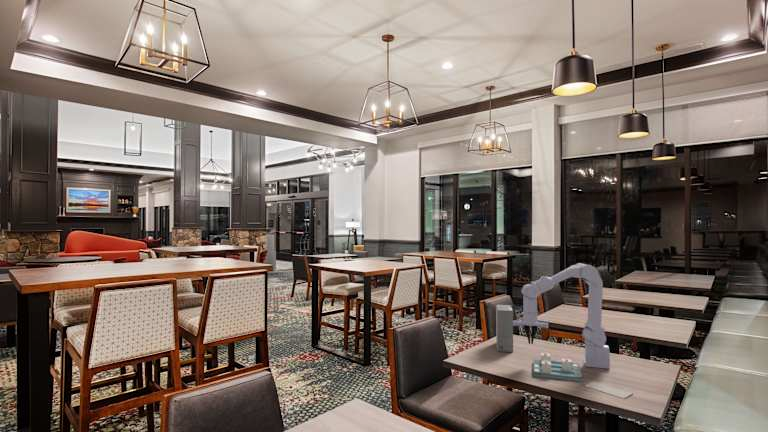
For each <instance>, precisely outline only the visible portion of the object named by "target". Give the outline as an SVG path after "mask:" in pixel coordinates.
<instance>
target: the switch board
mask: <svg viewBox="0 0 768 432" xmlns="http://www.w3.org/2000/svg"><path fill="white" fill-rule="evenodd" d="M550 362H551V374H550V373H542V364H541V359H536V358H535V359H534V358H533V363H532V364H533V365H532V366H533V367H532V368H533V373H532V375H533V377H534V378H535V377H536V378H546V379H553V380H562V381H563V380H565V381H573V382H579V383H580V382H582V383H583V380H584V379H583V374H582V372H581V368H580V366H579V365H580V364H579V363H578V362H572V371H566V370H562V361H555V360H550Z"/></svg>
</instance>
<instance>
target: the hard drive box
mask: <svg viewBox="0 0 768 432" xmlns="http://www.w3.org/2000/svg"><path fill="white" fill-rule="evenodd" d="M495 314H496V315H495V318H496V319H495V321H496V322H495V323H496V324H495V325H496V326H495V328H496V329H495V333H496V335H495V337H496V351H497V352H507V353H514V326H513V320H514V310H513V308H512V305H511V304H510V305H509V304H496V306H495Z"/></svg>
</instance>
